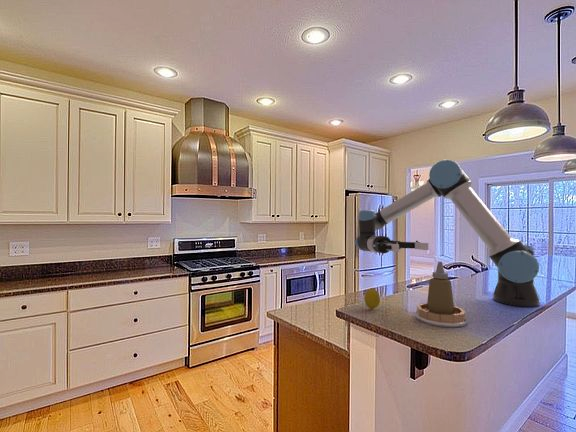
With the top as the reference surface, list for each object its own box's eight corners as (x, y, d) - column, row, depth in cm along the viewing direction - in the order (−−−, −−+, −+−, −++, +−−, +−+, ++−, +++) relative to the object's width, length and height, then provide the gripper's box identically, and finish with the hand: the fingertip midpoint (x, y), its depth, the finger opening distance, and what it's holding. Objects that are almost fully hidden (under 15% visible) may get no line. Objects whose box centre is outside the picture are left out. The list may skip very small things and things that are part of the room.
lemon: (369, 312, 110) (369, 290, 110) (361, 308, 116) (361, 286, 116) (383, 311, 112) (382, 289, 112) (374, 307, 117) (374, 285, 117)
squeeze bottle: (429, 318, 99) (429, 263, 100) (424, 311, 107) (424, 259, 107) (457, 321, 97) (457, 264, 98) (450, 313, 105) (450, 260, 105)
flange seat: (440, 311, 112) (440, 301, 112) (477, 324, 97) (477, 313, 97) (406, 315, 107) (406, 304, 107) (439, 329, 93) (439, 317, 93)
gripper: (403, 251, 141) (439, 255, 121) (355, 254, 133) (385, 259, 113) (402, 235, 141) (438, 236, 121) (354, 236, 133) (385, 238, 113)
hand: (413, 247), depth 117 cm, fingers open, 13 cm apart
